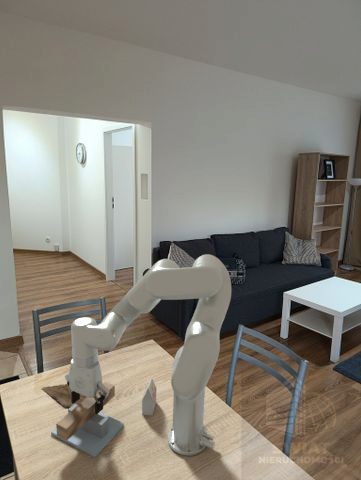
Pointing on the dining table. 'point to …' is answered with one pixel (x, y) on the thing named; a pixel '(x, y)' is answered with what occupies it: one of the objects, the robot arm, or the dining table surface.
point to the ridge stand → (93, 433)
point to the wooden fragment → (62, 395)
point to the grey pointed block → (149, 399)
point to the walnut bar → (81, 414)
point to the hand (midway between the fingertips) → (87, 406)
